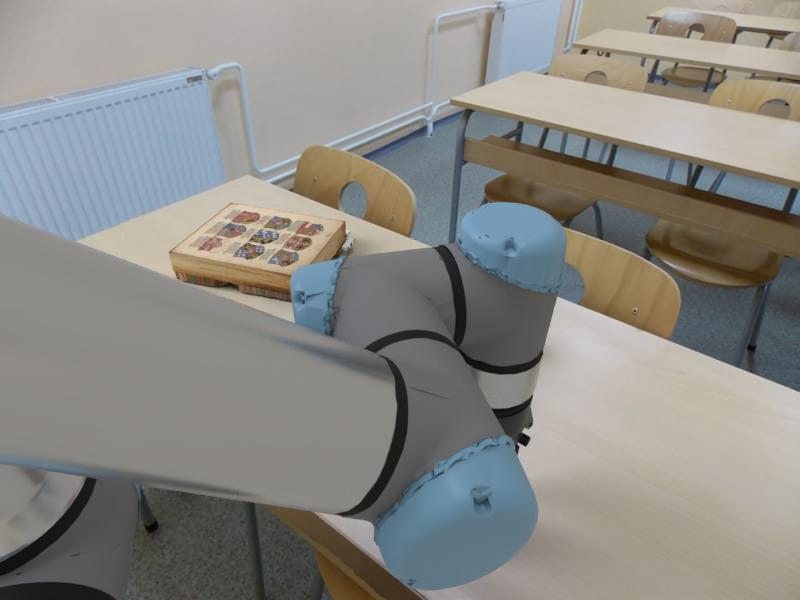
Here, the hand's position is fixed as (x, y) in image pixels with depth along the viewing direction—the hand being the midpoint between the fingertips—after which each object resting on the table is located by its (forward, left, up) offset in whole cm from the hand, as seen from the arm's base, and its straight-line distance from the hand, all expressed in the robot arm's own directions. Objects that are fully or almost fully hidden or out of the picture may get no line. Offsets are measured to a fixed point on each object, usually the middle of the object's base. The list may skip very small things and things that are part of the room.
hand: (467, 518), depth 57 cm
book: (+23, +62, -3) cm, 66 cm away
